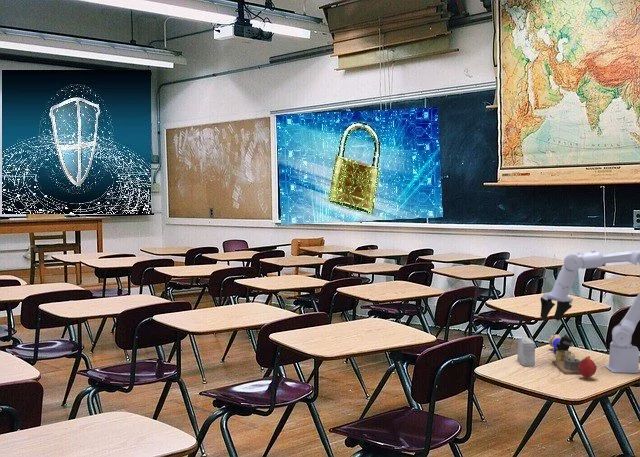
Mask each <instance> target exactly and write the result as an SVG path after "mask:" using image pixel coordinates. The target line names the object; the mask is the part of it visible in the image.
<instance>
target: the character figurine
mask: <svg viewBox="0 0 640 457" xmlns="http://www.w3.org/2000/svg"><path fill="white" fill-rule="evenodd" d="M572 342H573V340H572V339H571V337H569V336H568V335H567V334H566V333H564V335H563V336H561V335H559V334H555V333H553V334H551V335H550V336H549V337H548V345H549V346H550V347H551V348H553V354H554V355H556V351H558V350H565V351H569V350H570V348H571V347H573V344H572Z"/></svg>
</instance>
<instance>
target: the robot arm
mask: <svg viewBox="0 0 640 457" xmlns="http://www.w3.org/2000/svg"><path fill="white" fill-rule="evenodd" d="M576 253H577V254H576ZM576 253H573V252H572V253H568V254H567V255H565V257H564V259H563V264H562V265H561V269H560V271H558V272H559V273H558V275H557V278H556V280H555V283H554V285H553V288H552V290H551V291H548V292H544V293H543V294H542V296H541V297H540V304H541V305H540V306H541V307H540V308H541V309H540V315H539V316H540V318H542V319H543V320H546V319H547V317H548V316H549V314H550V312H551V310H552V309H553V308H554V306H555V305H556V309H555V312H554V315H553V319H554V320H555V321H557V322H559V321H560V320H561V319H562V317H563V316H565V314H566V313H567V312H568V311H569V310H571V309H572V306H573V305H572V304H573V300H574V298H572V297H570V296H569V294H570V291H571V289H572V286H573V284H574V281H575V278H576V274H577V272H578V270H579V269H582V270H583V269H584V270H585V269H596V268H602V267H603V265H604V264H609V263H610V264H612V263H625V262H628V263H631V264H632V265H635V266H637V265H638V264H639V266H640V250H637V249H636V250H627V251H619V252H612V253H602V252H600V251H596V249H592V250H591V251H590V252H581V251H579V252H576ZM553 301H554V302H556V303H554V302H553ZM639 322H640V291H639V292H638V294H637V296H636V297H635V299H634V300H633V302H632V303H631V306H629V309H628V311H627V313H625V315H624V316H623V318H622V319H621V321H620V322H619V323H618V324H617V325H614V327H613V328H612V330H611V338H612V339H611V340H612V341H611V342H610V343H609V357H608V360H609V361H608V364H604V367H605V368H606V369H608V370H609V371H610V372H611V373H620V374H621V373H622V374H623V373H626V374H627V373H629V374H632V373H633V374H639V373H640V371H639V366H640V351H639V348H638V347H637V346H635V345H633V344H632V337H633V334H634V332H635V330H636V327H637V325H638V323H639ZM638 372H639V373H638Z"/></svg>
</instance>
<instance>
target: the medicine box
mask: <svg viewBox="0 0 640 457" xmlns="http://www.w3.org/2000/svg"><path fill="white" fill-rule="evenodd" d="M535 357H536V343H535V342H534V341H533V339H531V338H530V337H518V338H517V359H516V360H517V361H518V362H519V363H520V364H521V366H523V367H535V362H536V361H535V359H536V358H535Z"/></svg>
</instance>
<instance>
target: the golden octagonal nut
mask: <svg viewBox="0 0 640 457" xmlns="http://www.w3.org/2000/svg"><path fill="white" fill-rule="evenodd" d="M571 356H572V353H571V351H569V358H571ZM564 358H565V350H558V351H556V354H555V361H564Z"/></svg>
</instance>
